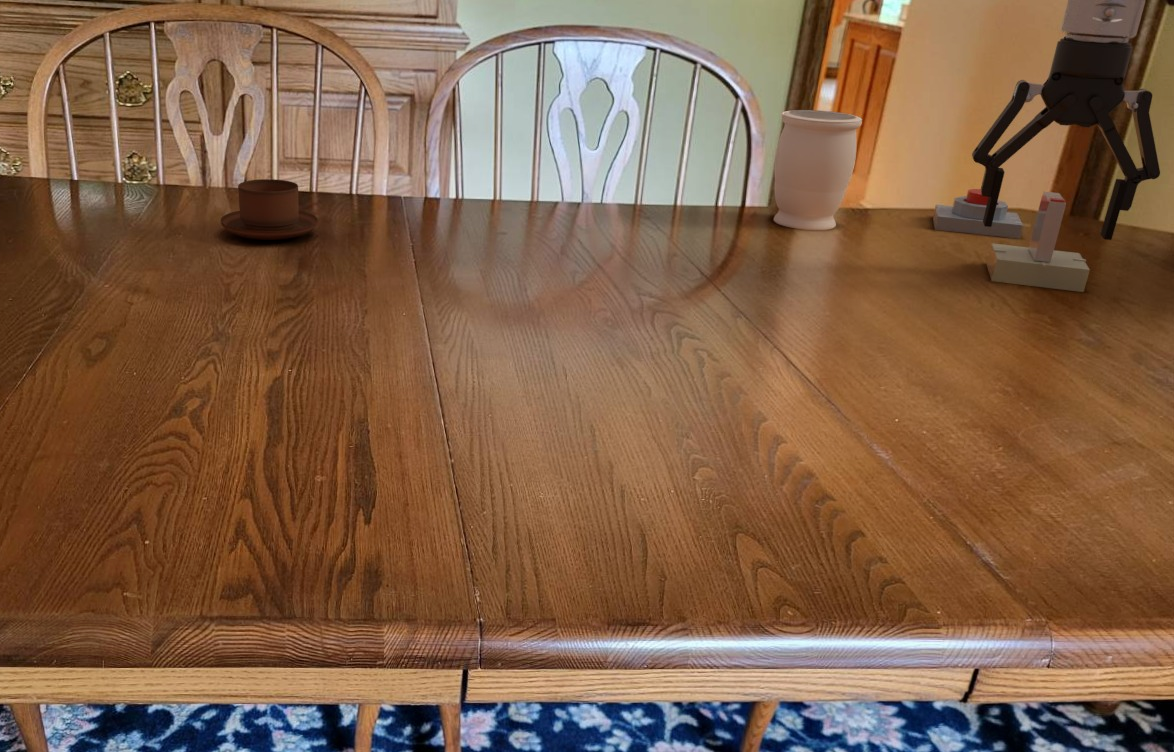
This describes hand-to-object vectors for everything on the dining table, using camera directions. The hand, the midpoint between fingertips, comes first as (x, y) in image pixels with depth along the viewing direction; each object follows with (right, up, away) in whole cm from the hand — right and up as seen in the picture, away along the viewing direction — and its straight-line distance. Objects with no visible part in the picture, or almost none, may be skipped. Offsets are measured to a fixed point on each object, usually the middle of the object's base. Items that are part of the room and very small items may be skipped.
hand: (1045, 230), depth 131 cm
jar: (-22, +5, +24) cm, 33 cm away
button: (+3, +8, +24) cm, 26 cm away
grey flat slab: (0, -3, +1) cm, 3 cm away
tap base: (0, -5, +3) cm, 6 cm away
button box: (+3, +5, +25) cm, 26 cm away
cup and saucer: (-94, +1, +8) cm, 94 cm away
